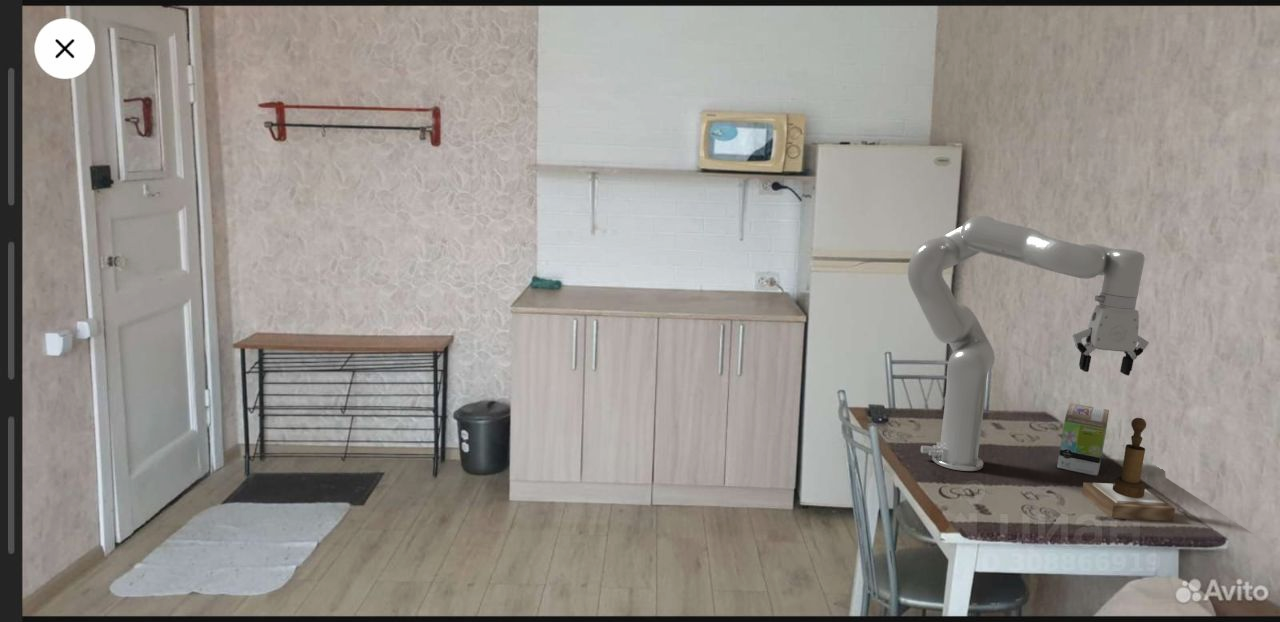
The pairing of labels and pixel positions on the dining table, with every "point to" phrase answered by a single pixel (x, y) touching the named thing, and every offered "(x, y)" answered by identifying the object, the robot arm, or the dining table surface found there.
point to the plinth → (1127, 503)
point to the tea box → (1083, 439)
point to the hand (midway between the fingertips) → (1104, 372)
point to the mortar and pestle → (1132, 464)
